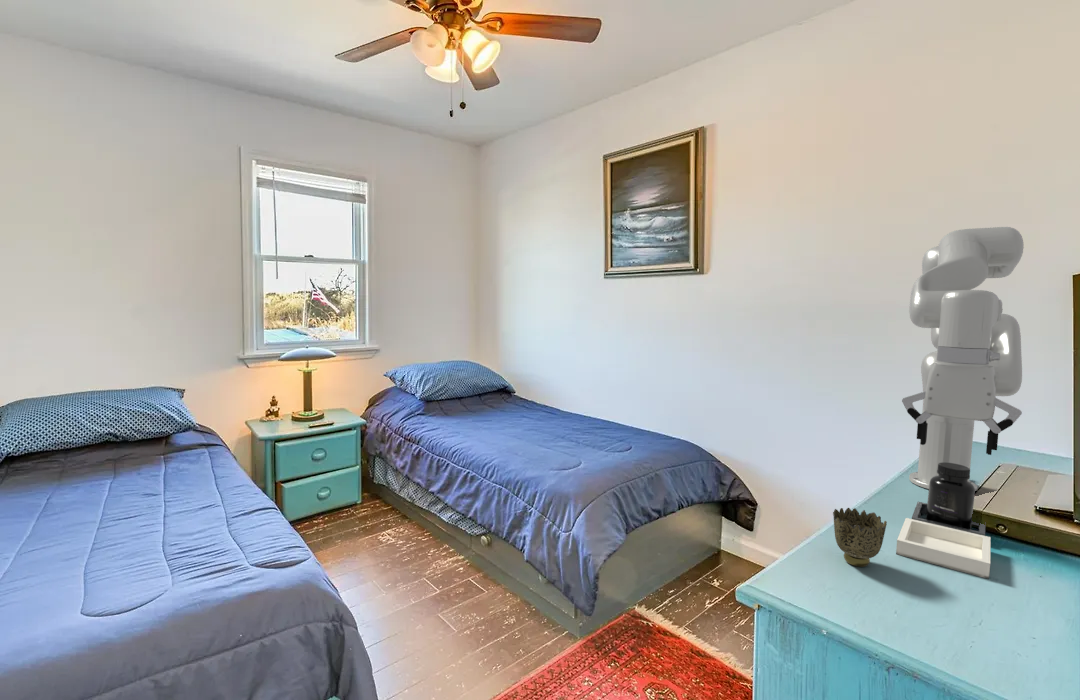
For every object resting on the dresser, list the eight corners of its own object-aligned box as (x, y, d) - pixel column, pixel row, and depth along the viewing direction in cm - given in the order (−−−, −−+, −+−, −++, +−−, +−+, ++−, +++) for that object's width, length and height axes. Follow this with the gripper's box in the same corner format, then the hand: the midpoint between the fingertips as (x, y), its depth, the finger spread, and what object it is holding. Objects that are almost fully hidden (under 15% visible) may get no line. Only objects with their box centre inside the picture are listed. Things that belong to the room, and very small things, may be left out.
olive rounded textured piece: (891, 577, 81) (895, 528, 80) (840, 572, 83) (843, 523, 82) (871, 554, 88) (874, 509, 88) (824, 550, 90) (827, 505, 89)
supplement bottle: (933, 531, 97) (938, 469, 96) (920, 517, 104) (924, 458, 102) (978, 537, 95) (984, 473, 94) (961, 522, 101) (967, 462, 100)
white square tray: (904, 530, 98) (905, 517, 97) (989, 551, 90) (990, 537, 89) (896, 553, 88) (897, 539, 88) (988, 579, 81) (990, 563, 80)
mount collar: (917, 510, 107) (917, 501, 106) (984, 525, 100) (985, 515, 100) (910, 527, 99) (911, 517, 99) (984, 545, 92) (985, 534, 92)
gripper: (1025, 359, 93) (1016, 453, 94) (908, 353, 104) (901, 436, 106) (1027, 362, 87) (1018, 462, 89) (903, 355, 99) (896, 443, 100)
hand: (954, 448), depth 97 cm, fingers open, 9 cm apart
